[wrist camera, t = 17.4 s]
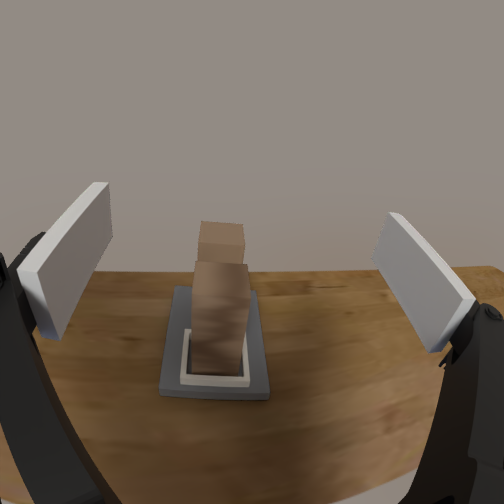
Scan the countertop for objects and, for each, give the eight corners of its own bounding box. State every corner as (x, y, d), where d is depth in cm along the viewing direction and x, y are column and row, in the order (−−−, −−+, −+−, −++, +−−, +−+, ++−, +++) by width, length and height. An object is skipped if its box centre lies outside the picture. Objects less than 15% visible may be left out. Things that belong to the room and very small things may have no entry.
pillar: (191, 377, 32) (191, 294, 26) (194, 343, 36) (195, 260, 30) (237, 379, 32) (251, 297, 26) (235, 346, 37) (247, 264, 30)
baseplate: (159, 395, 30) (146, 305, 23) (175, 293, 46) (175, 210, 39) (268, 399, 32) (295, 314, 25) (254, 298, 47) (268, 217, 40)
